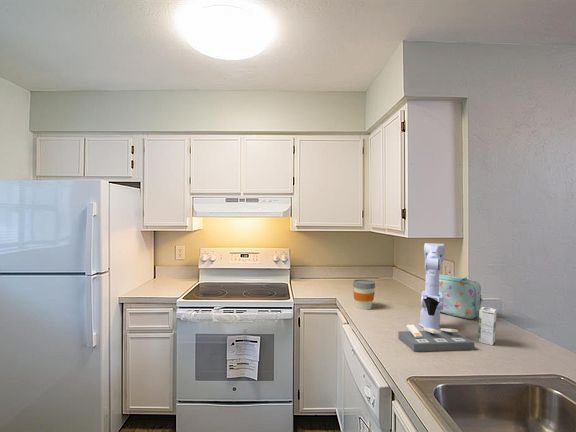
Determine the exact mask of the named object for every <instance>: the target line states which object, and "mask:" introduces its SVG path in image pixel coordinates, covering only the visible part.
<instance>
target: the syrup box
mask: <svg viewBox="0 0 576 432" xmlns="http://www.w3.org/2000/svg"><path fill="white" fill-rule="evenodd" d="M497 310H498V309H495V308H492V307H487V306H482V307H481V308H480V310H479V314H478V329H477V330H478V332H477V333H478V335H477V342H478V343H480V344H485V345H490V346H494V344H495V342H496V329H497V328H496V327H497Z"/></svg>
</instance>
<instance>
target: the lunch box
mask: <svg viewBox="0 0 576 432" xmlns="http://www.w3.org/2000/svg"><path fill="white" fill-rule="evenodd" d="M467 278H468V277H466V276H465V277H458V276H452V275H446V274H439V291H440V292H441V293H442V294H443V310H441V309H440V313H443V314H446V315H449V316H451V317H458V318H462V319H468V320H473V319H475V318H476V315H477V314H478V313H479V310H480V309H481V308H482V307H481V305H482V303H484V299H483V297H482V293H481V292H482V288H481V284H480V282H478V281H477V280H476V279H473V280H469V279H470V278H469V279H467ZM478 315H479V314H478ZM478 315H477V316H478Z"/></svg>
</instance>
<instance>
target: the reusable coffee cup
mask: <svg viewBox="0 0 576 432" xmlns="http://www.w3.org/2000/svg"><path fill="white" fill-rule="evenodd" d="M352 286H353V290H352V293H353V299H354V303H355V308H356V309H357V310H363V311H369V310H371V309H372V307H373V301H374V300H375V299H374V297H375V288H376V283H375V281H374V280H370V279H354V280H353V283H352Z"/></svg>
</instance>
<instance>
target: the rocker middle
mask: <svg viewBox="0 0 576 432" xmlns="http://www.w3.org/2000/svg"><path fill="white" fill-rule="evenodd" d="M423 331H428V332H431V333H441V331H438V330H435V329H432V328H423Z"/></svg>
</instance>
